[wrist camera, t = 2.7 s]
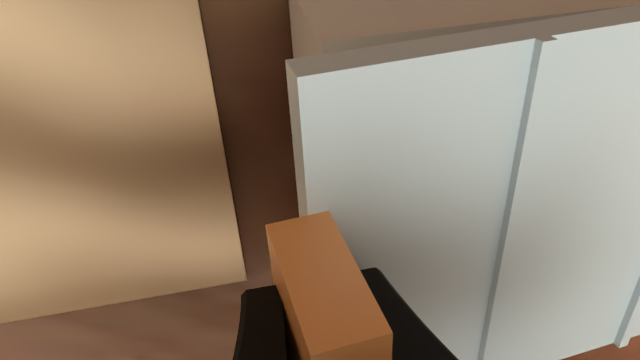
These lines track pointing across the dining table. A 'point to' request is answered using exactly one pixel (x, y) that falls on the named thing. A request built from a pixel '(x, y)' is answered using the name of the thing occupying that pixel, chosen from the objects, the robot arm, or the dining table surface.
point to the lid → (468, 191)
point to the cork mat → (109, 157)
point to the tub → (415, 19)
